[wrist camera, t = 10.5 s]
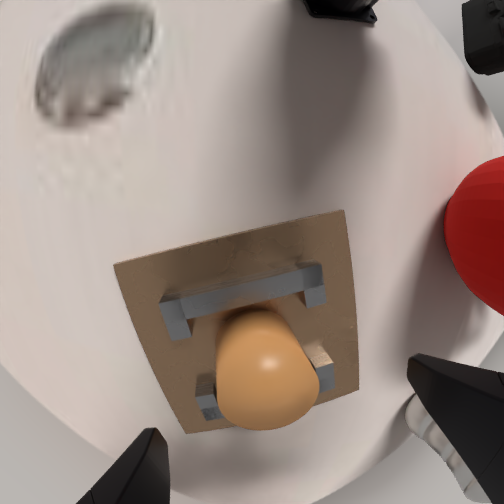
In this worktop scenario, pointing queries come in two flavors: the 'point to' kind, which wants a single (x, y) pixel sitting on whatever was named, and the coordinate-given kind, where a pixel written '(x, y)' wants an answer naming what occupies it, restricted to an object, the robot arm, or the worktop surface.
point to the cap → (262, 372)
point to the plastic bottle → (443, 449)
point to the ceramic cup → (479, 232)
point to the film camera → (484, 35)
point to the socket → (244, 307)
